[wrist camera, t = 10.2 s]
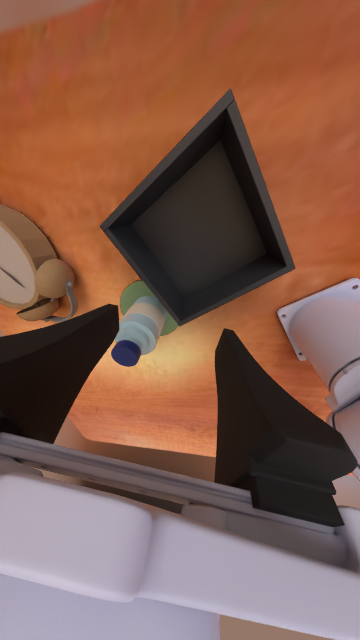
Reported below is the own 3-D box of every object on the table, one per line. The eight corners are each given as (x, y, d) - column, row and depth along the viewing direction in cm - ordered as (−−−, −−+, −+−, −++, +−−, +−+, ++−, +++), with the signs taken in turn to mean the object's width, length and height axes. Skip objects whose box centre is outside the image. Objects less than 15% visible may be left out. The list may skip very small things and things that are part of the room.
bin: (272, 253, 17) (296, 268, 13) (185, 302, 22) (179, 326, 17) (222, 129, 13) (230, 86, 9) (126, 222, 18) (98, 226, 13)
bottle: (174, 316, 23) (159, 365, 16) (148, 330, 25) (124, 379, 17) (152, 288, 21) (123, 329, 14) (126, 305, 23) (90, 349, 16)
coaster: (194, 319, 23) (194, 320, 23) (148, 342, 26) (147, 344, 26) (155, 266, 20) (154, 267, 19) (108, 300, 23) (107, 301, 23)
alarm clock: (-61, 164, 14) (71, 298, 17) (5, 182, 19) (103, 286, 21) (-66, 256, 20) (36, 348, 22) (-13, 253, 24) (67, 330, 26)
